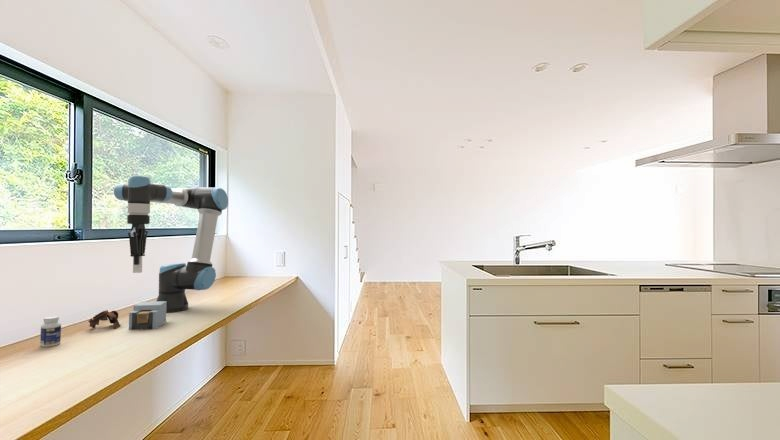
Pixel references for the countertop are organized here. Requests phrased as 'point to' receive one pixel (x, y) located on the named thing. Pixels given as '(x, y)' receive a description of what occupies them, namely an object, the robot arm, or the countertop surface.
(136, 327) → the sleeve block
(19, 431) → the countertop surface
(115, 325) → the brown curved piece
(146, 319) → the peg
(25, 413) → the countertop surface
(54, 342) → the pill bottle
